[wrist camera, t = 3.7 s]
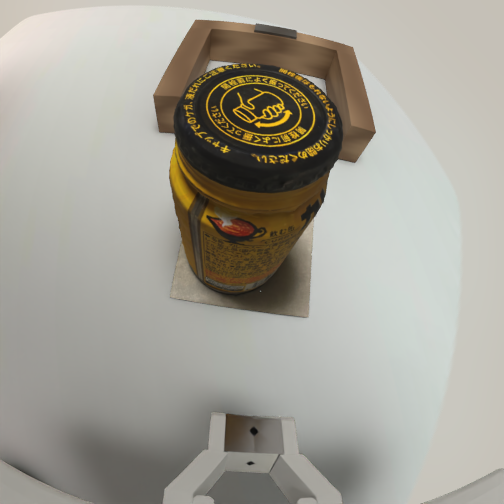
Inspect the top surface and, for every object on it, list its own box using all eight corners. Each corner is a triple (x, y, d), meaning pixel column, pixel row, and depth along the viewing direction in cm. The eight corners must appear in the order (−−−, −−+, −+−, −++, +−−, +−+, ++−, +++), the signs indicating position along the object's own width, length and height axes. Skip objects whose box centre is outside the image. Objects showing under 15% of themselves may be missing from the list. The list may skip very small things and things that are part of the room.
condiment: (192, 193, 20) (184, 39, 9) (313, 214, 21) (396, 85, 10) (170, 298, 18) (105, 199, 6) (306, 318, 18) (434, 255, 7)
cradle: (159, 131, 22) (152, 92, 17) (195, 49, 26) (195, 17, 22) (355, 162, 23) (377, 129, 19) (341, 74, 27) (353, 44, 23)
